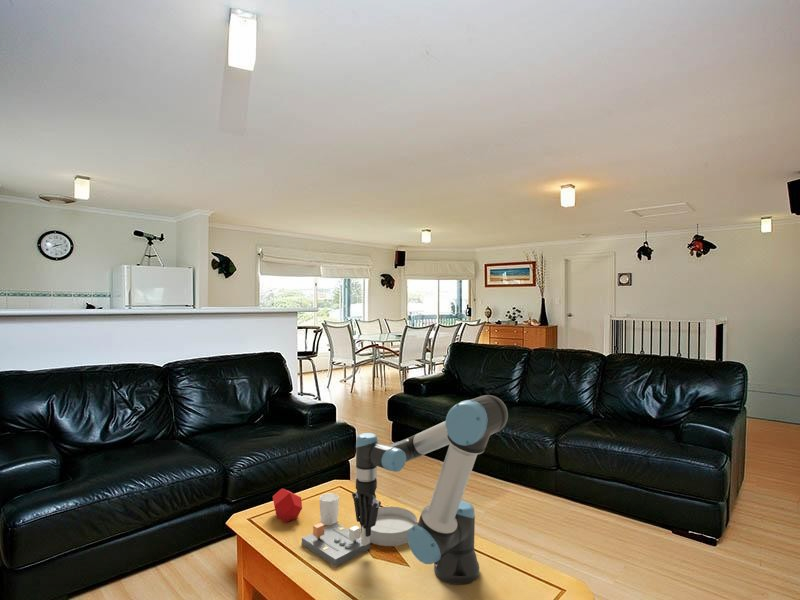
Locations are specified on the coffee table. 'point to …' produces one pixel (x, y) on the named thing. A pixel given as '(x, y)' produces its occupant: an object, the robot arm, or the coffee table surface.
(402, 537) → the dish
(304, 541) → the console
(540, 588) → the coffee table surface
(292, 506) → the red faceted polyhedron
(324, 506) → the white cup
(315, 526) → the fader
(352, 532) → the cream block
